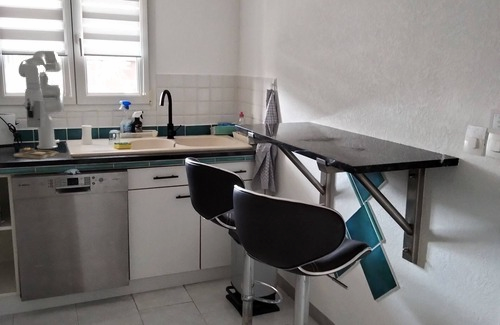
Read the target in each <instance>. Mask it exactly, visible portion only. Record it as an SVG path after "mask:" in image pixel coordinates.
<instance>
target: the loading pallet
mask: <svg viewBox="0 0 500 325" xmlns="http://www.w3.org/2000/svg"><path fill="white" fill-rule="evenodd" d="M29 148H30V149H29V150H24V148H20V149H18V150H19V152H16V153H14V154H13V157H15V158H24V159H25V158H27V159H35V160H36V159H37V160H38V159H39V160H41V159H46V158H50V157H53V156H58V155H60V152H59V151H56V150H50V149H35V148H34V147H33V148H32V147H29Z"/></svg>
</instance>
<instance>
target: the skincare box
mask: <svg viewBox="0 0 500 325" xmlns="http://www.w3.org/2000/svg"><path fill="white" fill-rule="evenodd" d="M28 104H29V105H31V104H30V103H28ZM32 111H33V118H29V117H28V111H27V110H26V127H27V128H38V127H44V126H45V101H44V100H37V101H35V106H33V108H32Z"/></svg>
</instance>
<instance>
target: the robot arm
mask: <svg viewBox="0 0 500 325" xmlns="http://www.w3.org/2000/svg"><path fill="white" fill-rule="evenodd" d="M61 70H62V62H61V60H60V57H59V55H58V53H57V52H55V51H54V50H37V51H36V52H34V53H33V56H32V57H31V58H27V59H24V60H23V61H21V62H20V64H19V66H18V74H19V75H20V77H21V78H25V85H26V89H25V91H24V92H25V93H24V103H23V107H24V109H26V112H27V111H28V117H29V118H33V111H32V108H33V106H35V101H37V100H44V101H45V126H44V127H37V132H38V145H37V146H36V148H37V149H38V150H51V149H55V148H58V144H57V143H60V139H55V129H54V119H53V118H52V116H51V115H53V114H55V115H56V114H60V115H61V114H62V113H64V109H65V107H64V105H65V94H64V93H65V92H64V88H63V86H61V85H60V84H53V80H52V78H51V77H50V76H49V75H48V74H47V73H59V72H60V71H61ZM28 103H30V104H31V105H29V104H28Z"/></svg>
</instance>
